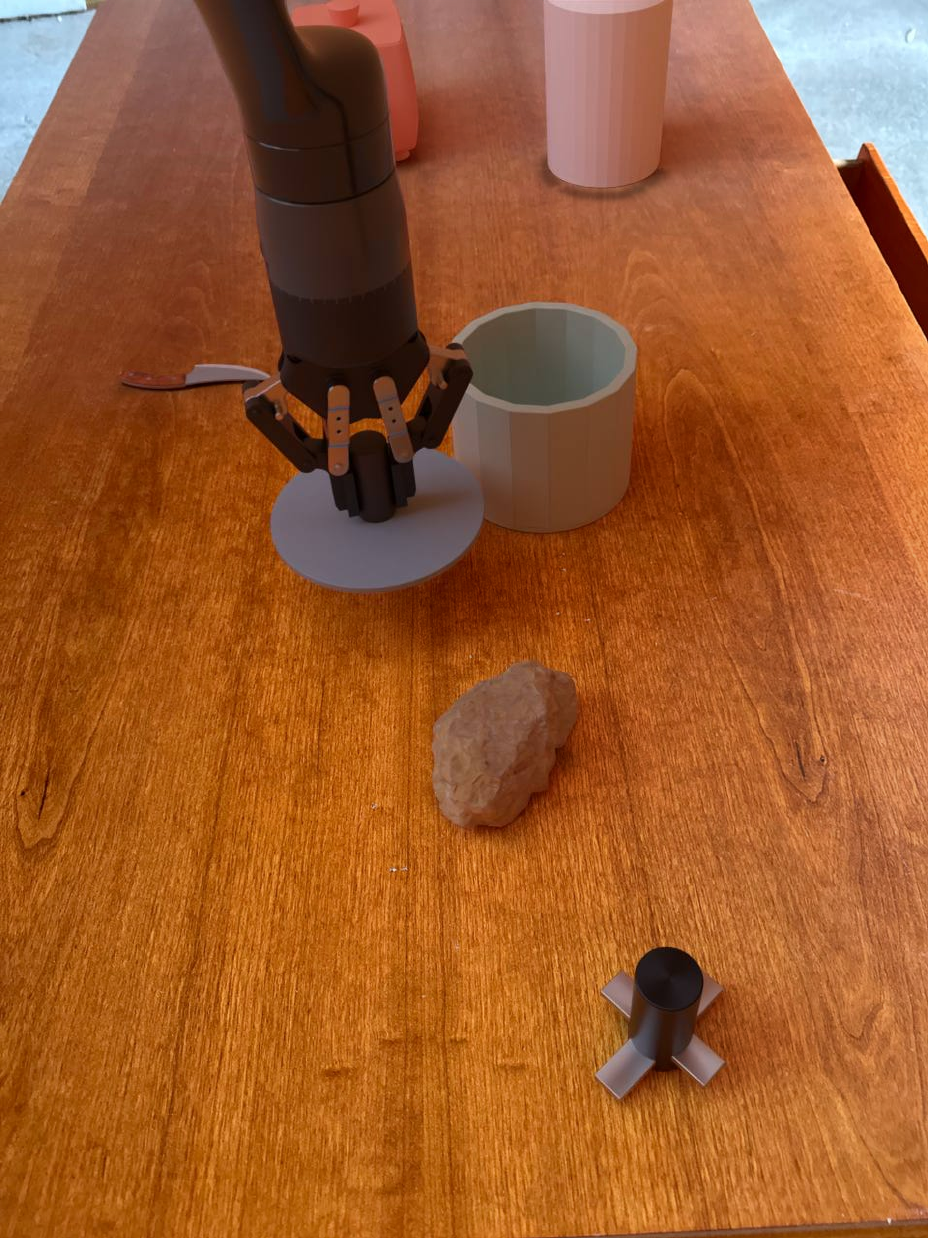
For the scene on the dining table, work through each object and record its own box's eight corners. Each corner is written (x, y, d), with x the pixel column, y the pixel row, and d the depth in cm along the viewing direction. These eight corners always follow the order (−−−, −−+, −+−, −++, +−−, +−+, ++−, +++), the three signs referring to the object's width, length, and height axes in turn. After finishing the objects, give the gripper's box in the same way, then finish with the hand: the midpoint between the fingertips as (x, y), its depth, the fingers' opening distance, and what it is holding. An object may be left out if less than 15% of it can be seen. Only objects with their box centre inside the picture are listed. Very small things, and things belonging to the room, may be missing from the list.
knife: (278, 357, 95) (274, 378, 93) (280, 363, 95) (275, 385, 93) (121, 364, 95) (113, 385, 93) (123, 370, 96) (115, 391, 94)
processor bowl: (599, 407, 89) (603, 288, 81) (653, 512, 80) (663, 390, 73) (441, 438, 87) (430, 320, 80) (480, 548, 79) (471, 428, 71)
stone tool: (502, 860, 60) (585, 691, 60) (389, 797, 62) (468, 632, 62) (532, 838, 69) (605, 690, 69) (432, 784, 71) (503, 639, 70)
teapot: (431, 187, 114) (418, 39, 104) (305, 202, 114) (280, 55, 103) (411, 95, 129) (398, -43, 119) (299, 108, 129) (276, -29, 118)
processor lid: (458, 438, 78) (452, 357, 73) (509, 574, 69) (505, 492, 64) (262, 476, 77) (242, 396, 72) (287, 621, 68) (266, 540, 63)
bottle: (656, 130, 120) (674, -148, 101) (668, 185, 112) (689, -106, 93) (543, 136, 120) (540, -140, 102) (546, 191, 112) (544, -97, 94)
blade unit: (659, 946, 59) (669, 877, 53) (761, 1033, 55) (782, 969, 50) (556, 1048, 55) (556, 986, 50) (658, 1148, 52) (669, 1092, 47)
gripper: (208, 316, 56) (273, 566, 68) (485, 267, 57) (498, 521, 70) (197, 240, 61) (260, 487, 73) (452, 197, 62) (470, 446, 75)
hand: (376, 502), depth 72 cm, fingers closed on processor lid, 2 cm apart
